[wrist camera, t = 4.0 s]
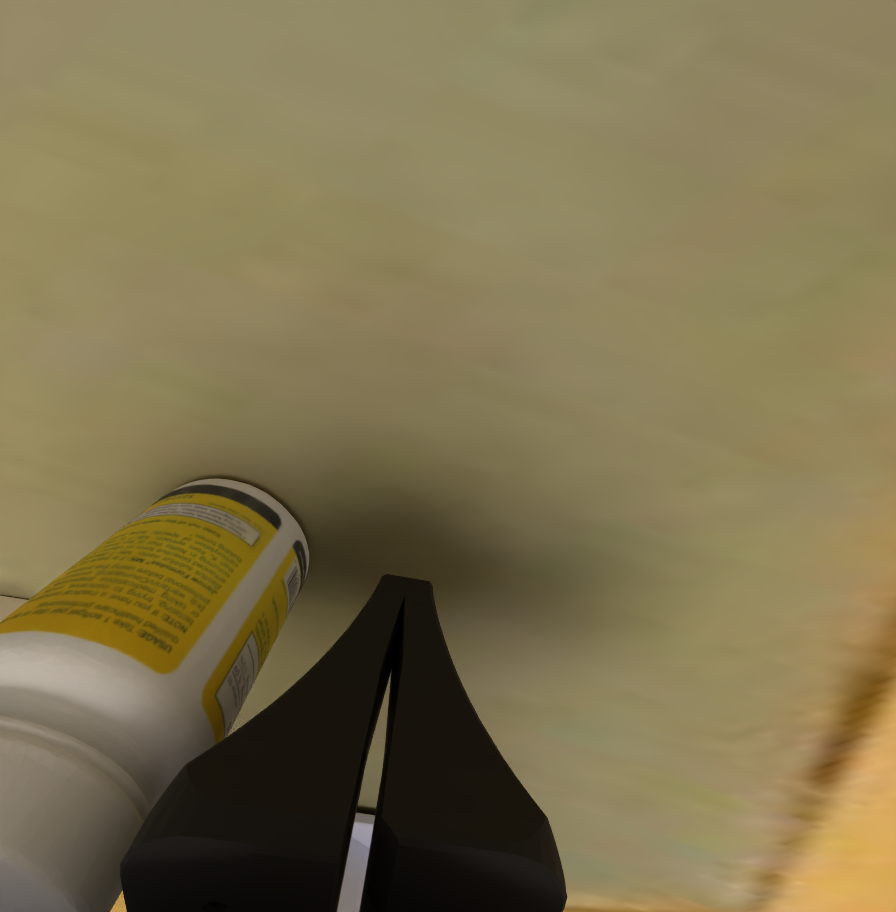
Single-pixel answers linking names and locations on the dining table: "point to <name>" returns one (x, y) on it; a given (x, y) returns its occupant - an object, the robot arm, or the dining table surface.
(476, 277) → the dining table surface
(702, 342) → the dining table surface
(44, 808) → the supplement bottle
